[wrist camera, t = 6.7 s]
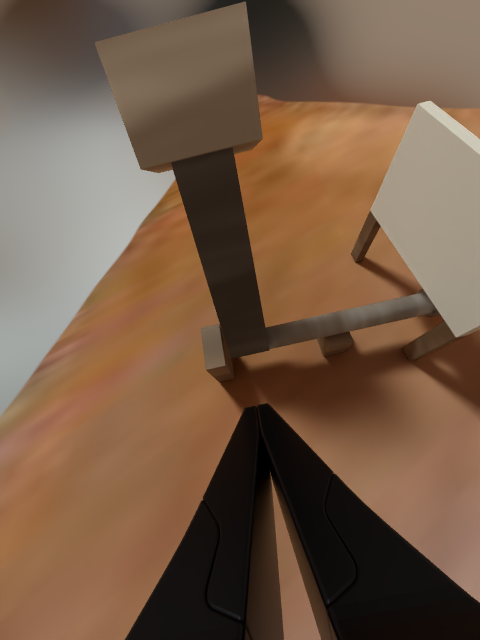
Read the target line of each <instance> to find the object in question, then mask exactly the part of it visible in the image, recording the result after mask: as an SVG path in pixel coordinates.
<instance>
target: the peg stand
mask: <svg viewBox="0 0 480 640" xmlns="http://www.w3.org/2000/svg"><path fill="white" fill-rule="evenodd" d="M379 228H380V224H379V223H378V221H377V220H376V218H375V217H374V215H373V214H372V212H371V211H370V212H369V214H368V217H367V219H366V221H365V223H364V226H363V228H362V230H361V232H360V235H359V237H358V239H357V241H356V244H355V246H354V248H353V250H352V253H351V255H352V257H353V259H354V260H355V262H359V261H362V260H363V258H364V257H365V255H366V253H367V251H368V249H369V247H370V245H371V243H372V241H373V240H374V238H375V236H376V234H377V232H378V230H379ZM201 333H202V342H203V350H204V359H205V367H206V370H207V371H208V372H209V373H210V374H211V375H212V376H213V377H214V378H215V379H216V380H217V381H219V382H222V381H226V380H231V379H235V376H234V371H233V365H232V359H230V355H229V352H228V349H227V345H226V342H225V339H224V335H223V332H222V329H221V327H220V325H219V324H216V325H212V326H208V327H203V328H201ZM465 336H467V335H465ZM465 336H461V337H455V335H454V334H453V332H452V331H451V329H450V328H449V326H448V325H447V323H446V322H445V321H444V322H442V323H440V324H439V325H437V326H436V327H434V328H433V329H431V330H429V331H428V332H426V333H425V334H423V335H422V336H420V337H418V338H417V339H415V340H414V341H412V342H411V343H409V344H407V345H406V346H404V347H403V350H404V352H405V354H406V356H407V358H408V359H409V361H413V360H417V359H420V358H422V357H424V356H426V355H428V354H430V353H432V352H434V351H436V350H438V349H440V348H442V347H444V346H446V345H448V344H450V343H452V342H454V341H456V340H459V339H461V338H463V337H465ZM317 340H318V342H319V345H320V348H321V351H322V353H323V356H328V355H333V354H337V353H342V352H345V351H346V350H347V349H348V348H349V347H350V346H351V345H352V344H353V343H354V341H353V339H352V337H351V335H350V333H349V332H345V333H340V334H336V335H331V336H327V337H322V338H317Z"/></svg>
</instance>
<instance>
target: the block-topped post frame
mask: <svg viewBox="0 0 480 640" xmlns="http://www.w3.org/2000/svg"><path fill="white" fill-rule="evenodd" d="M95 45H96V48H97V51H98V53H99V56H100V59H101V62H102V65H103V67H104V70H105V72H106V76H107V78H108V81H109V84H110V87H111V89H112V92H113V95H114V97H115V100H116V103H117V105H118V108H119V111H120V114H121V116H122V119H123V122H124V125H125V127H126V130H127V133H128V136H129V138H130V141H131V144H132V147H133V149H134V152H135V155H136V157H137V160H138V163H139V166H140V168H141V169H142V170H147V171H151V172H157V173H161V172H165V171H169V170H173V171H174V174H175V178H176V181H177V184H178V188H179V191H180V194H181V197H182V201H183V204H184V207H185V211H186V214H187V217H188V220H189V224H190V227H191V230H192V234H193V237H194V240H195V243H196V247H197V250H198V253H199V257H200V260H201V263H202V266H203V270H204V273H205V276H206V280H207V283H208V286H209V289H210V293H211V296H212V299H213V303H214V306H215V309H216V312H217V316H218V319H219V322H220V326H221V329H222V332H223V335H224V339H225V342H226V345H227V349H228V352H229V355H230V359H232V358H237V357H241V356H246V355H251V354H255V353H260V352H264V351H269V349H272V348H277V347H281V346H286V345H290V344H295V343H299V342H304V341H308V340H313V339H317V338H322V337H327V336H331V335H336V334H340V333H345V332H349V331H354V330H358V329H363V328H367V327H372V326H376V325H381V324H385V323H390V322H394V321H399V320H403V319H408V318H412V317H417V316H421V315H424V316H427V317H432V316H436V315H441V314H440V313H439V312H438V310H437V309H436V307H435V306H434V304H433V303H432V301H431V300H430V298H429V297H428V295H427V294H426V292H425V291H424V289H422V290H420V291H418V293H417V294H414V295H409V296H405V297H400V298H396V299H391V300H387V301H382V302H378V303H374V304H369V305H365V306H360V307H356V308H351V309H347V310H342V311H338V312H333V313H329V314H325V315H320V316H316V317H311V318H307V319H302V320H298V321H293V322H289V323H285V324H280V325H276V326H271V327H267V328H265V323H264V318H263V312H262V307H261V301H260V296H259V290H258V285H257V279H256V274H255V268H254V263H253V257H252V252H251V246H250V241H249V235H248V230H247V224H246V218H245V213H244V207H243V202H242V196H241V191H240V185H239V180H238V174H237V169H236V163H235V158H234V154H237V153H241V152H245V151H249V150H252V149H253V148H254V147H255V146H256V145H257V144H258V143H259V142H260V141H261V140H262V139H263V138H262V130H261V122H260V113H259V105H258V97H257V89H256V82H255V73H254V65H253V57H252V49H251V41H250V33H249V25H248V16H247V8H246V2H242V3H239V4H235V5H231V6H227V7H224V8H220V9H216V10H213V11H209V12H205V13H202V14H198V15H194V16H190V17H187V18H184V19H180V20H176V21H172V22H168V23H165V24H161V25H157V26H154V27H150V28H146V29H143V30H139V31H135V32H131V33H128V34H124V35H120V36H117V37H113V38H109V39H106V40H102V41H98V42H95Z"/></svg>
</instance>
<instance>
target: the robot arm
mask: <svg viewBox="0 0 480 640" xmlns="http://www.w3.org/2000/svg"><path fill="white" fill-rule="evenodd" d="M270 473H271V475H270ZM271 477H272V480H273V484H274V487H275V491H276V494H277V497H278V500H279V504H280V507H281V510H282V513H283V517H284V520H285V523H286V526H287V530H288V533H289V536H290V539H291V543H292V546H293V549H294V552H295V556H296V559H297V562H298V565H299V568H300V572H301V575H302V578H303V581H304V585H305V588H306V591H307V594H308V598H309V601H310V604H311V607H312V611H313V614H314V617H315V620H316V624H317V627H318V630H319V633H320V637H321V640H480V603H479V602H478V601H477V600H475V599H474V598H473V597H472V596H470V595H469V594H468V593H467V592H466V591H464V590H463V589H462V588H461V587H460V586H459V585H457V584H456V583H455V582H454V581H453V580H452V579H450V578H449V577H448V576H447V575H446V574H445V573H443V572H442V571H441V570H440V569H439V568H438V567H436V566H435V565H434V564H433V563H432V562H431V561H430V560H428V559H427V558H426V557H425V556H424V555H423V554H421V553H420V552H419V551H418V550H417V549H416V548H415V547H413V546H412V545H411V544H410V543H409V542H408V541H406V540H405V539H404V538H403V537H402V536H401V535H399V534H398V533H397V532H396V531H395V530H394V529H393V528H391V527H390V526H389V525H388V524H387V523H386V522H385V521H383V520H382V519H381V518H380V517H379V516H378V515H377V514H376V513H375V512H373V511H372V510H371V509H370V508H369V507H368V506H367V505H366V504H365V503H364V502H363V501H362V500H361V499H360V498H359V497H358V496H357V495H356V494H355V493H354V492H353V491H352V490H350V489H349V488H348V487H347V486H346V484H345V483H344V482H343V481H342V480H341V479H340V478H339V477H338V476H337V475H336V474H334V473H333V471H332V470H331V469H330V468H329V467H328V466H327V465H326V464H325V463H324V462H323V460H322V459H321V458H320V457H319V456H318V455H317V454H316V453H315V452H314V451H313V450H312V449H311V448H310V447H309V446H308V445H307V444H306V443H305V442H304V440H303V439H302V438H301V437H300V436H299V435H298V434H297V433H296V432H295V431H294V430H293V429H292V428H291V427H290V426H289V425H288V424H287V423H286V422H285V420H284V419H283V418H282V417H281V416H280V415H279V414H278V413H277V412H276V411H275V410H274V409H273V408H272V407H271V406H270V405H269V404H268V403H266V404H261V405H258V406H257V407H256V406H252V407H247V408H245V409H244V411H243V413H242V415H241V417H240V419H239V421H238V424H237V426H236V428H235V430H234V432H233V434H232V436H231V439H230V441H229V443H228V445H227V447H226V449H225V451H224V454H223V456H222V458H221V460H220V462H219V464H218V466H217V468H216V471H215V473H214V475H213V477H212V479H211V481H210V483H209V486H208V488H207V490H206V492H205V494H204V496H203V500H202V501H201V502H200V504H199V507H198V509H197V511H196V513H195V515H194V517H193V519H192V521H191V523H190V525H189V527H188V529H187V531H186V533H185V535H184V537H183V539H182V541H181V543H180V545H179V546H178V548H177V550H176V552H175V554H174V555H173V557H172V559H171V561H170V563H169V564H168V566H167V568H166V570H165V571H164V573H163V575H162V577H161V578H160V580H159V582H158V583H157V585H156V587H155V589H154V590H153V592H152V594H151V596H150V597H149V599H148V601H147V602H146V604H145V606H144V608H143V609H142V611H141V613H140V615H139V616H138V618H137V620H136V621H135V623H134V625H133V627H132V628H131V630H130V632H129V634H128V635H127V637H126V639H125V640H284V634H283V621H282V608H281V596H280V583H279V570H278V558H277V545H276V533H275V520H274V507H273V495H272V483H271Z"/></svg>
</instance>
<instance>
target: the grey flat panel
mask: <svg viewBox="0 0 480 640" xmlns="http://www.w3.org/2000/svg"><path fill="white" fill-rule="evenodd" d="M370 211H371V212H372V214H373V215H374V217H375V218H376V220H377V221H378V223H379V224H380V226H381V227H382V229H383V230H384V232H385V233H386V235H387V236H388V238H389V239H390V241H391V242H392V244H393V245H394V246H395V248H396V249H397V251H398V252H399V254H400V255H401V257H402V258H403V260H404V261H405V263H406V264H407V266H408V267H409V269H410V270H411V272H412V273H413V275H414V276H415V278H416V279H417V280H418V282H419V283H420V285H421V286H422V288H423V289H424V291H425V292H426V294H427V295H428V297H429V298H430V300H431V301H432V303H433V304H434V306H435V307H436V309H437V310H438V312H439V313H440V314H441V316H442V317H443V319H444V320H445V322H446V323H447V325H448V326H449V328H450V329H451V331H452V332H453V334H454V335H455V337H461V336H465V335H469V334H471V333H473V332H475V331H477V330H479V329H480V139H479V138H478V137H476V136H475V135H474V134H472V133H471V132H470V131H469V130H467V129H466V128H465V127H463V126H462V125H461V124H460V123H458V122H457V121H456V120H454V119H453V118H452V117H450V116H449V115H448V114H447V113H445V112H444V111H443V110H441V109H440V108H439V107H438V106H436V105H435V104H434V103H432V102H431V101H427V102H423V103H419V104H417V106H416V109H415V111H414V113H413V115H412V118H411V120H410V122H409V124H408V127H407V129H406V131H405V133H404V136H403V138H402V140H401V142H400V145H399V147H398V149H397V151H396V154H395V156H394V158H393V160H392V163H391V165H390V167H389V169H388V172H387V174H386V176H385V178H384V181H383V183H382V185H381V187H380V190H379V192H378V194H377V196H376V199H375V201H374V203H373V205H372V208H371V210H370Z"/></svg>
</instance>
